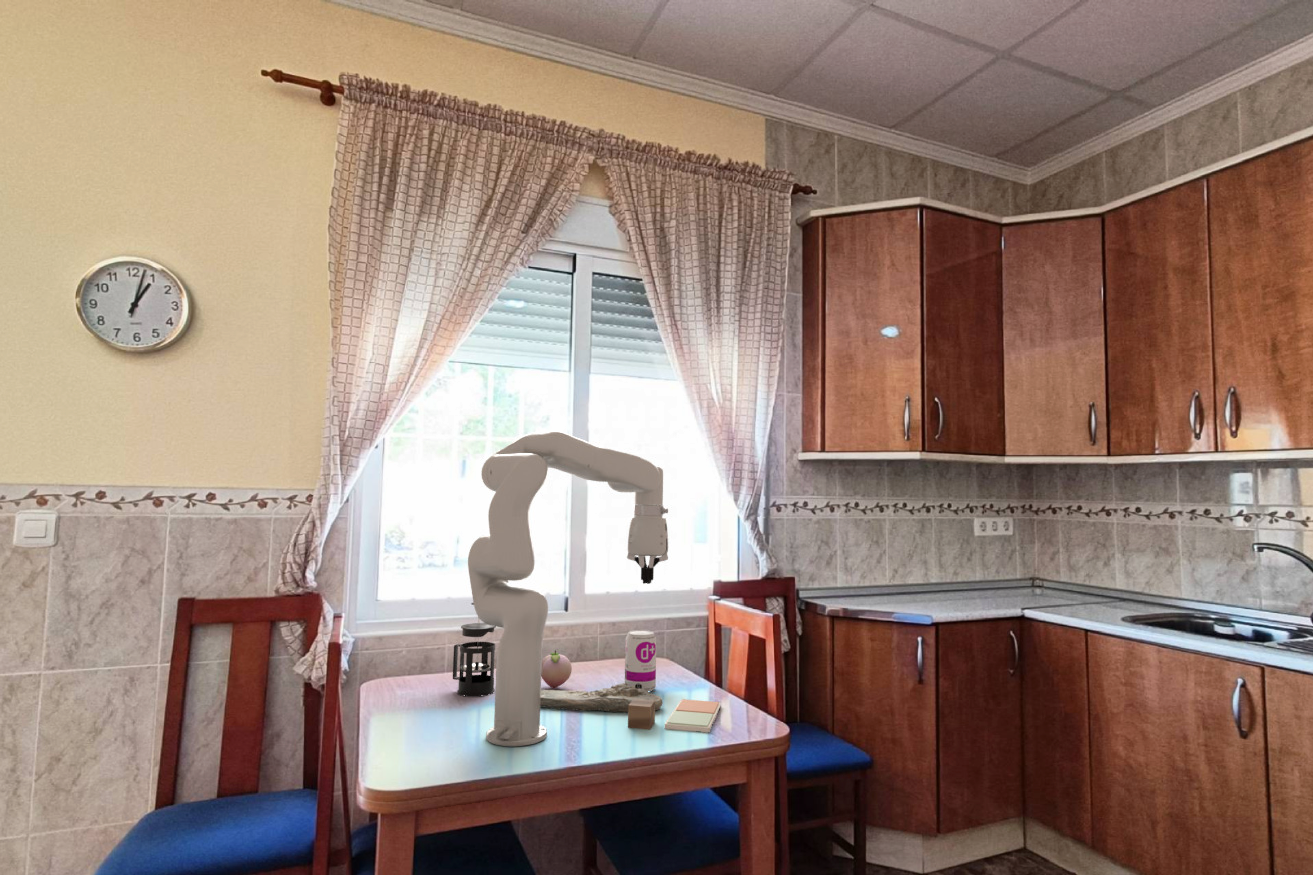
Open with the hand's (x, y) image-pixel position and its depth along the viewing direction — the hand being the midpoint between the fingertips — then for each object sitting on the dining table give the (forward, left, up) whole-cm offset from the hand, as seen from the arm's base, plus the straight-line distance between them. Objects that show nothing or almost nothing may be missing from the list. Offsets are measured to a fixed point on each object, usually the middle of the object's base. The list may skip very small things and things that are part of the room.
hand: (647, 582), depth 185 cm
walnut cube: (-22, -4, -29) cm, 37 cm away
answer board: (-13, -15, -29) cm, 35 cm away
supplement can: (+7, +3, -29) cm, 30 cm away
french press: (-7, +44, -29) cm, 53 cm away
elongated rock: (-11, +11, -30) cm, 33 cm away
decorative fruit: (+2, +25, -29) cm, 38 cm away
